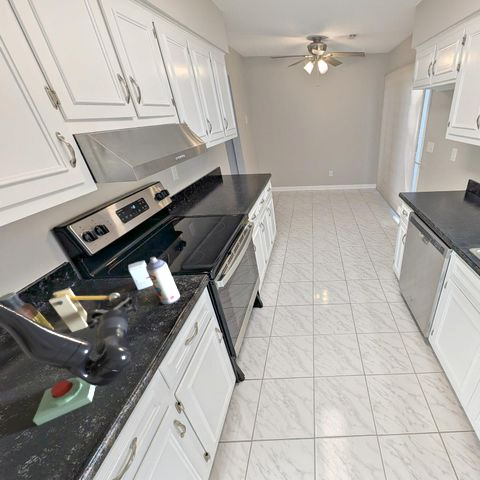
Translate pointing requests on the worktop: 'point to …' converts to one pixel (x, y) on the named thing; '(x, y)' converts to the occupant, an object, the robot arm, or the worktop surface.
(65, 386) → the release button
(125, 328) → the robot arm
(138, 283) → the cosmetic box
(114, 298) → the lever
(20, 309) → the sauce bottle
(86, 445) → the worktop surface
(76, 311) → the lock bracket
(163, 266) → the aerosol can
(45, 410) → the box
